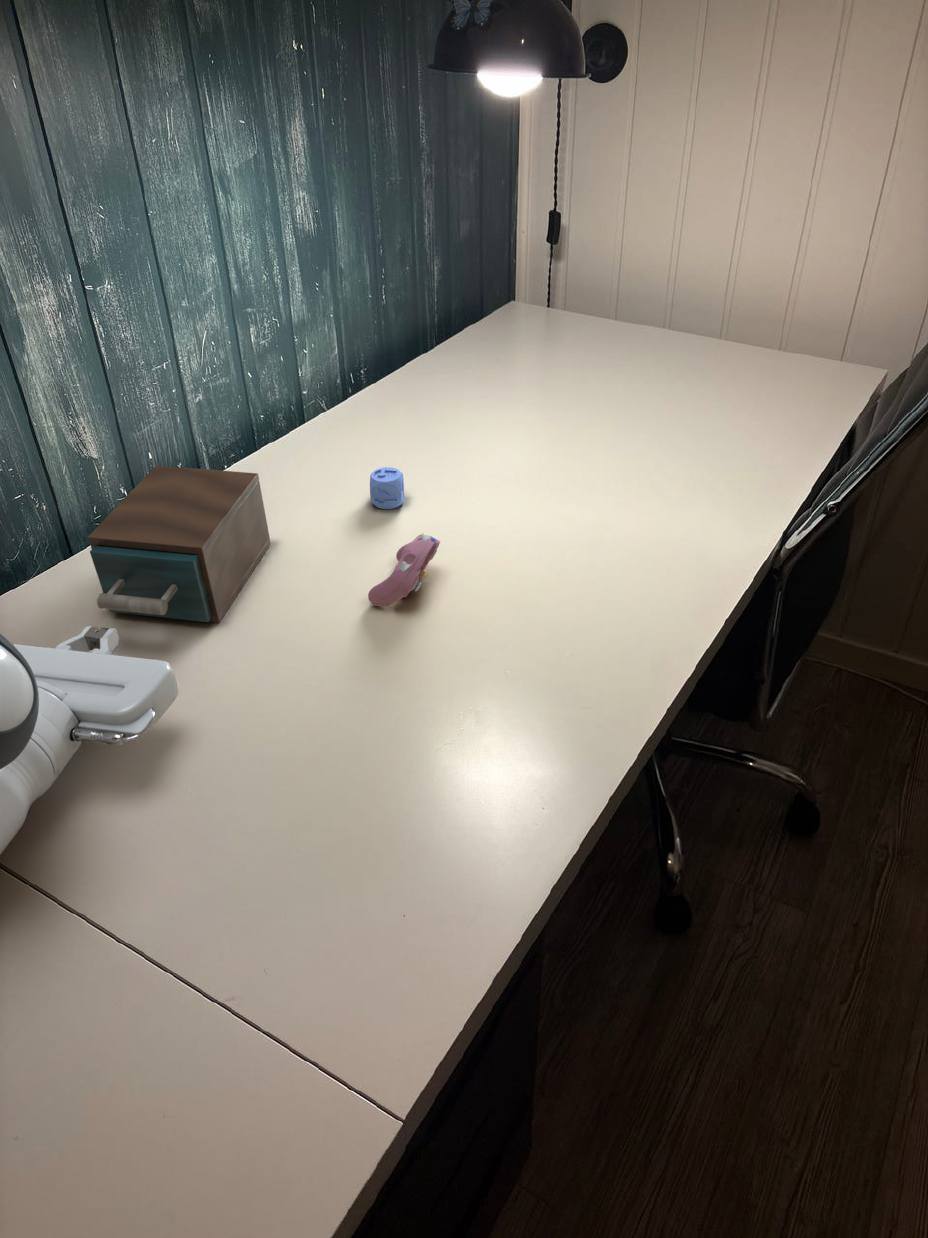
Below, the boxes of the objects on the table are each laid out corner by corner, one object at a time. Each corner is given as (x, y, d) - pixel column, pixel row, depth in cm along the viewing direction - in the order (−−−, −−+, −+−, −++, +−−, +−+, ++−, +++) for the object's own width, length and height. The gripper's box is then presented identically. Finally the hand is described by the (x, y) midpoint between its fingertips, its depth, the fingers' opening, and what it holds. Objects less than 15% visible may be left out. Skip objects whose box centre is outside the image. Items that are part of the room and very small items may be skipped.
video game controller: (398, 624, 101) (421, 582, 97) (362, 602, 101) (384, 560, 96) (429, 574, 109) (452, 534, 104) (396, 554, 108) (418, 513, 104)
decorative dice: (402, 509, 118) (400, 481, 115) (371, 509, 118) (368, 482, 115) (404, 493, 121) (402, 466, 118) (374, 493, 121) (371, 466, 118)
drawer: (190, 648, 95) (174, 586, 90) (88, 636, 97) (67, 575, 92) (258, 548, 109) (246, 490, 105) (168, 539, 111) (153, 482, 107)
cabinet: (219, 623, 100) (201, 547, 94) (111, 611, 102) (87, 537, 96) (271, 544, 112) (258, 473, 106) (173, 535, 114) (155, 465, 108)
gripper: (126, 719, 74) (197, 617, 85) (-95, 692, 78) (0, 596, 89) (145, 773, 78) (210, 668, 89) (-67, 744, 82) (21, 647, 92)
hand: (104, 632), depth 89 cm, fingers closed
